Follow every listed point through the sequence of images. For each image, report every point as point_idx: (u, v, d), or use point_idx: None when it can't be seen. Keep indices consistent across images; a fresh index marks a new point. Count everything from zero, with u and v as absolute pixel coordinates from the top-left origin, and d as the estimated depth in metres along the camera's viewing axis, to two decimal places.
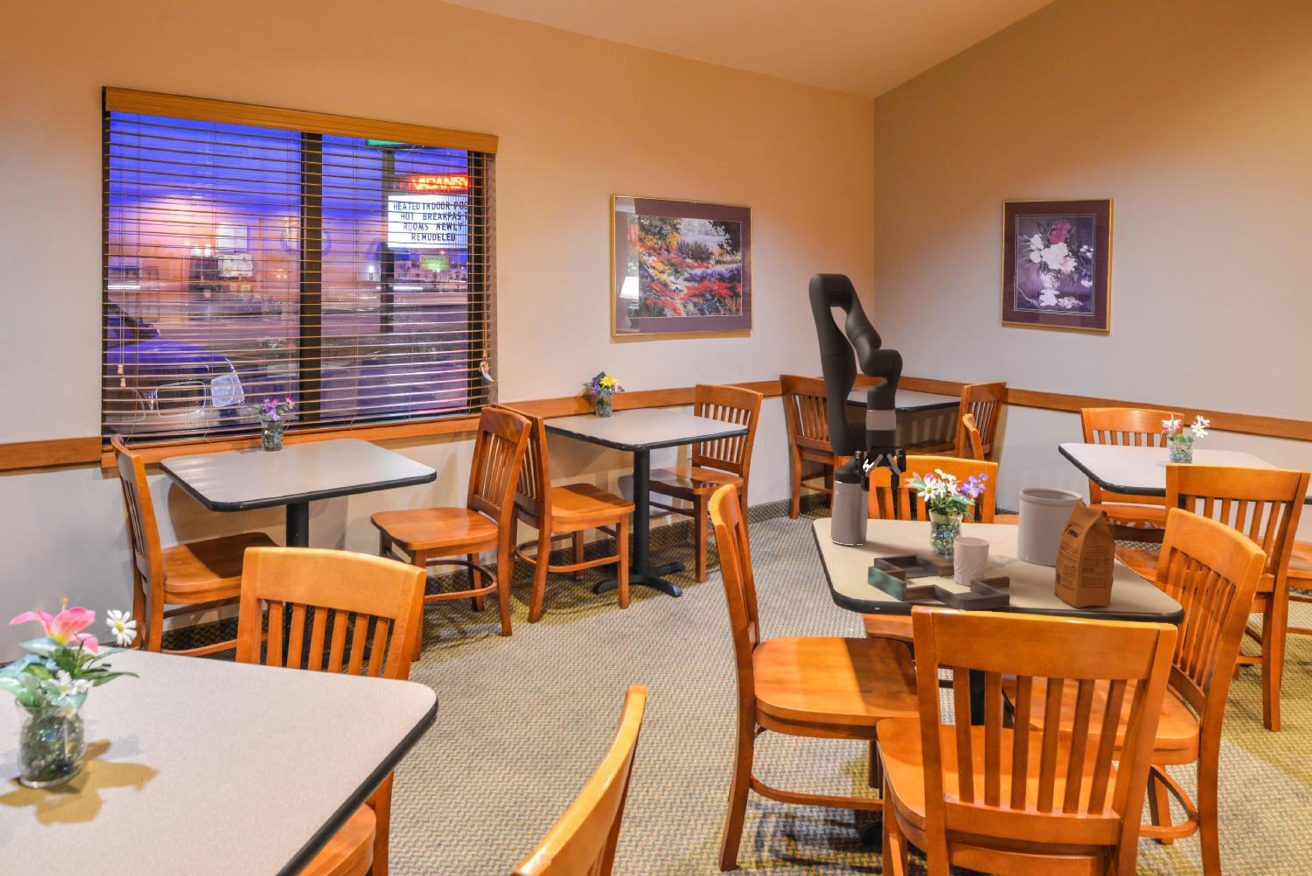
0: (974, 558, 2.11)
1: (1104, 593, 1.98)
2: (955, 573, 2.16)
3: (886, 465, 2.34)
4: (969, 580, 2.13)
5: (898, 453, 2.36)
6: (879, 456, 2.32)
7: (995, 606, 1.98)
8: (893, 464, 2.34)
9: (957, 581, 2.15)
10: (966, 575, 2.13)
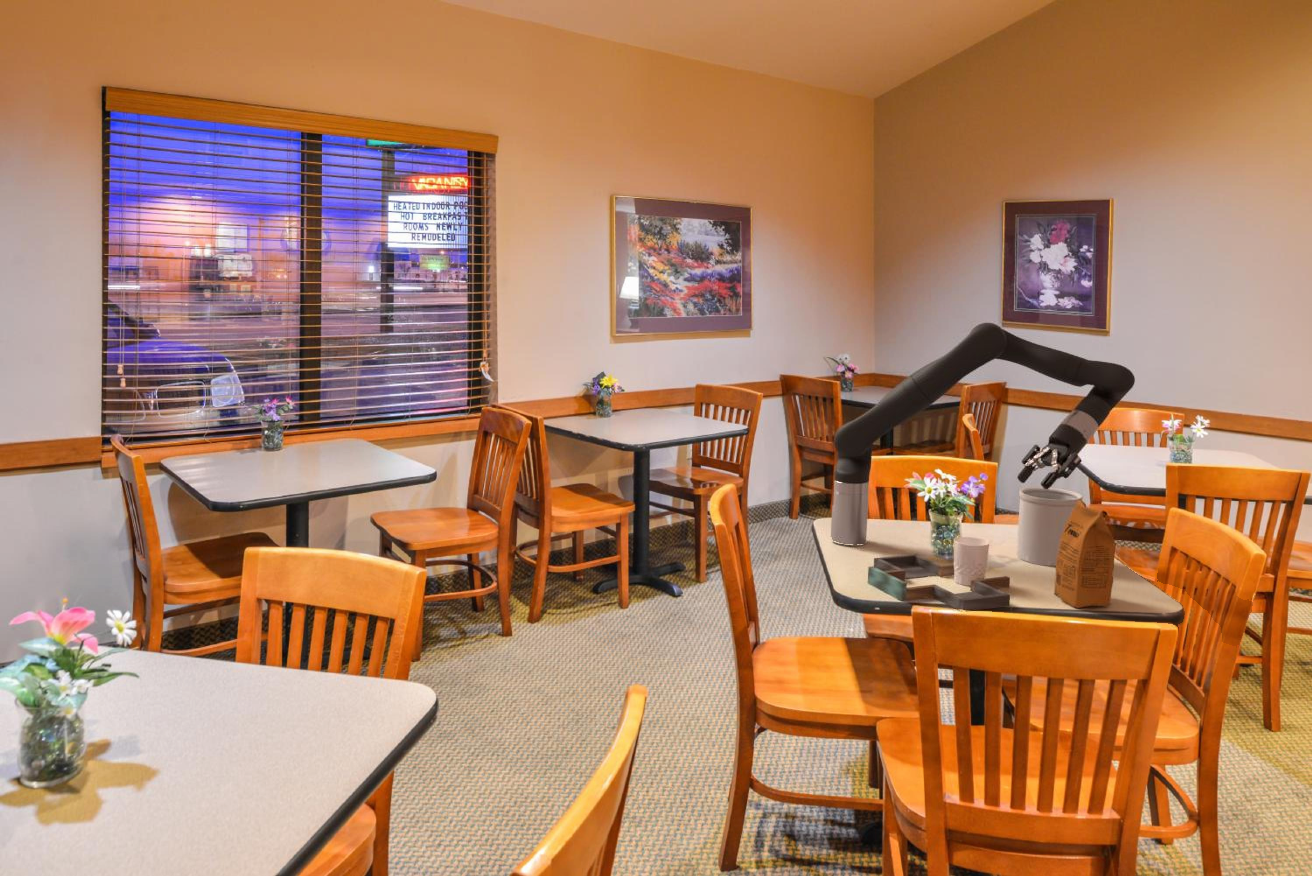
0: (974, 558, 2.11)
1: (1104, 593, 1.98)
2: (955, 573, 2.16)
3: None
4: (969, 580, 2.13)
5: None
6: None
7: (995, 606, 1.98)
8: None
9: (957, 581, 2.15)
10: (966, 575, 2.13)
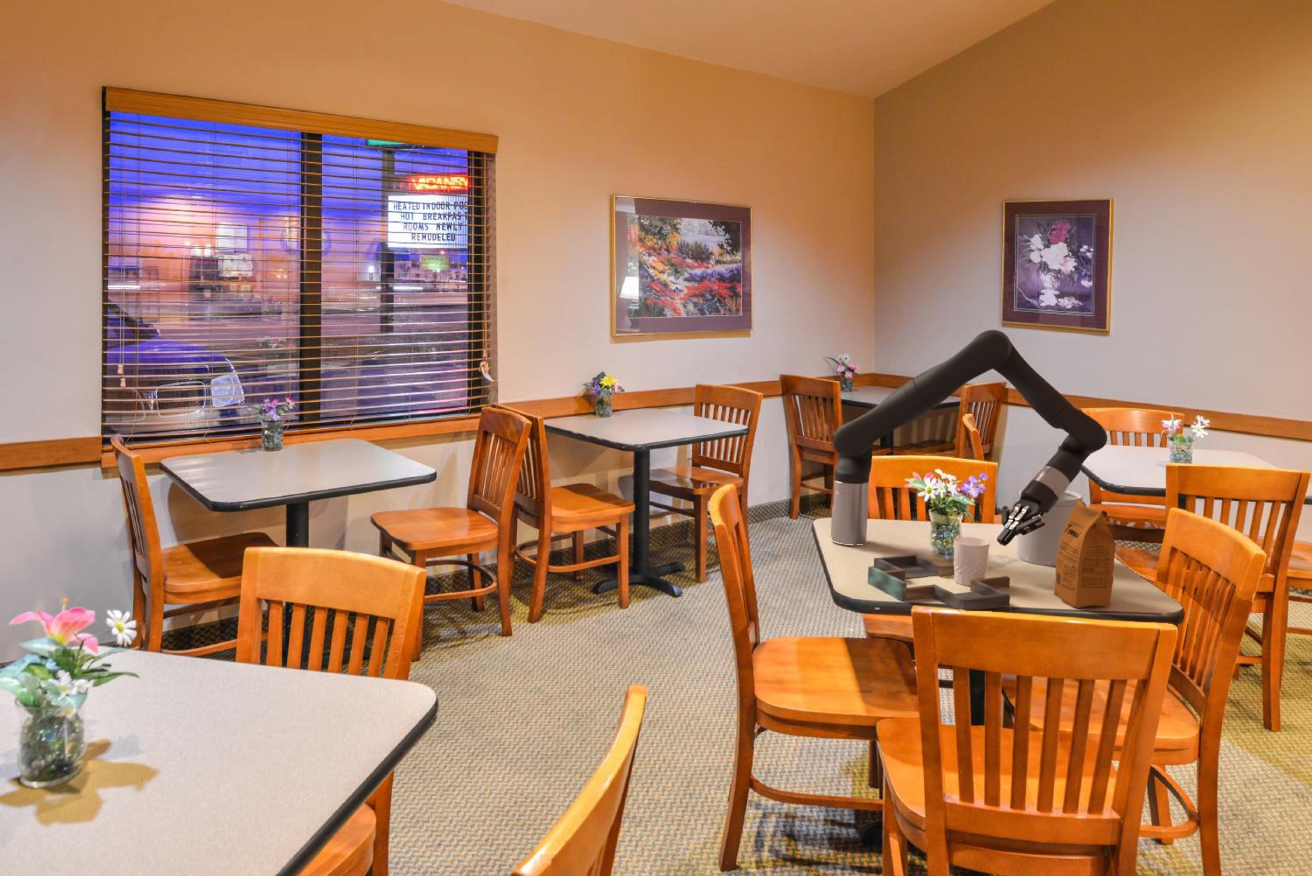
0: (974, 558, 2.11)
1: (1104, 593, 1.98)
2: (955, 573, 2.16)
3: None
4: (969, 580, 2.13)
5: None
6: None
7: (995, 606, 1.98)
8: None
9: (957, 581, 2.15)
10: (966, 575, 2.13)
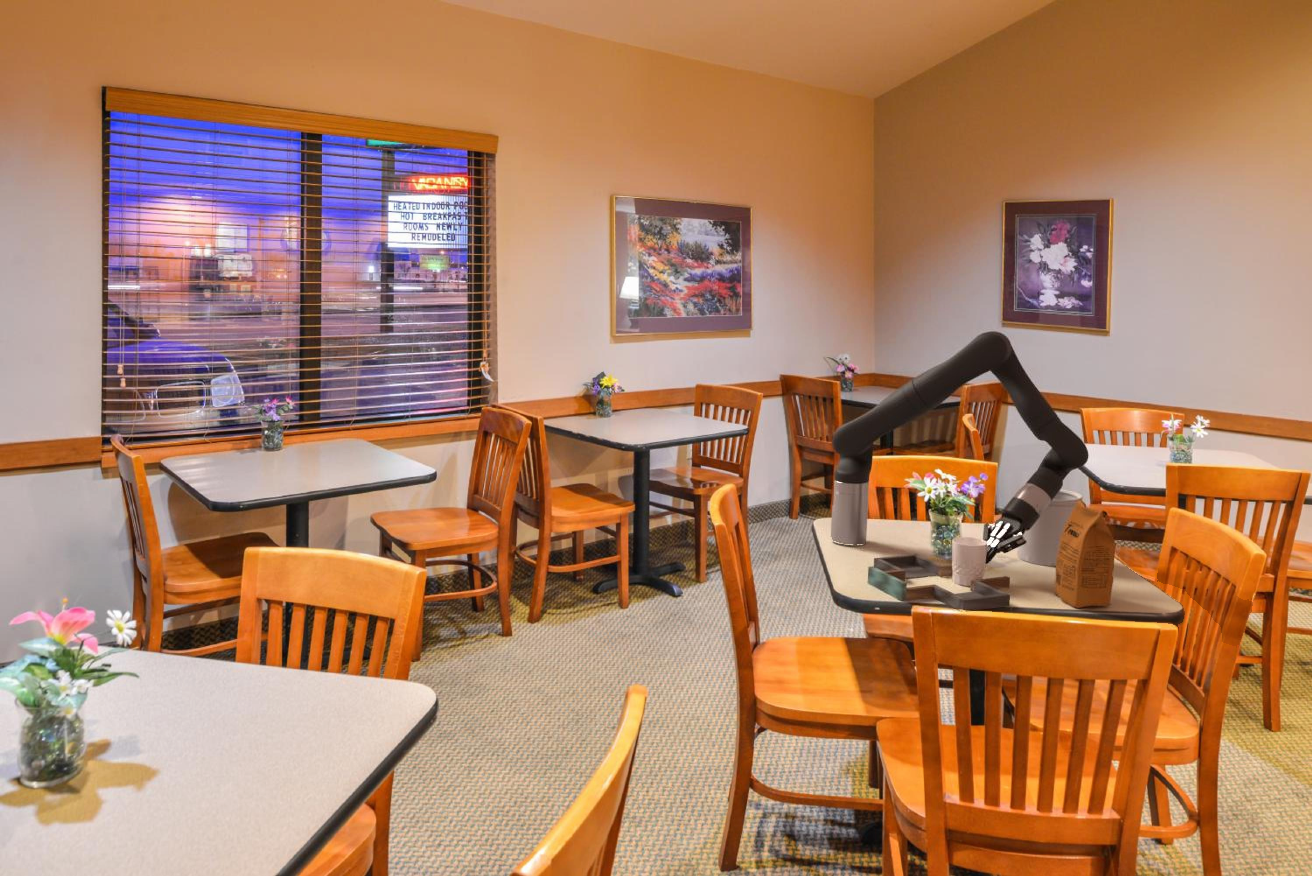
0: (972, 558, 2.11)
1: (1104, 593, 1.98)
2: (953, 573, 2.15)
3: None
4: (967, 580, 2.13)
5: None
6: None
7: (995, 606, 1.98)
8: None
9: (955, 581, 2.15)
10: (964, 575, 2.13)
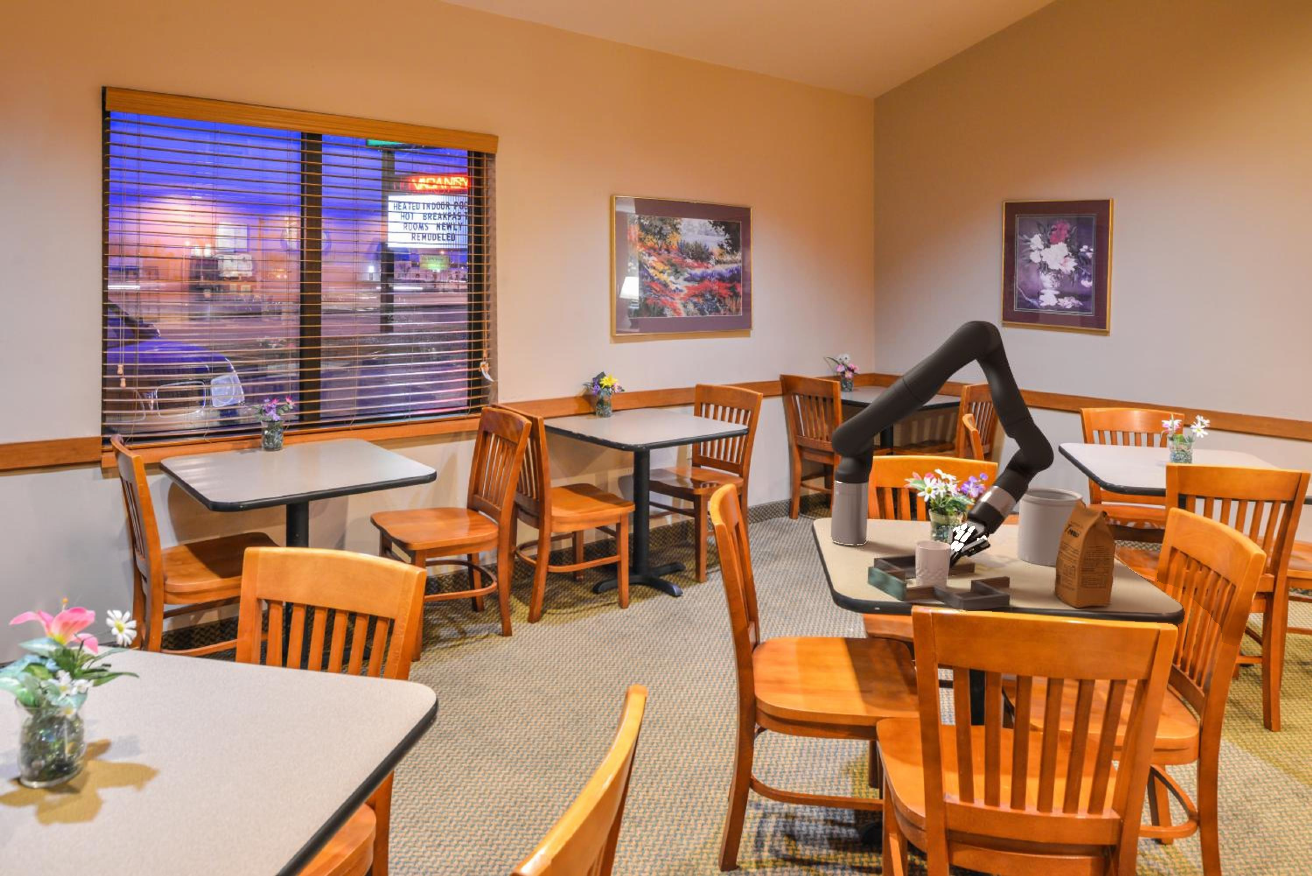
0: (934, 562, 2.07)
1: (1104, 593, 1.98)
2: (916, 577, 2.12)
3: None
4: None
5: None
6: None
7: (995, 606, 1.98)
8: None
9: (918, 585, 2.11)
10: (926, 579, 2.09)
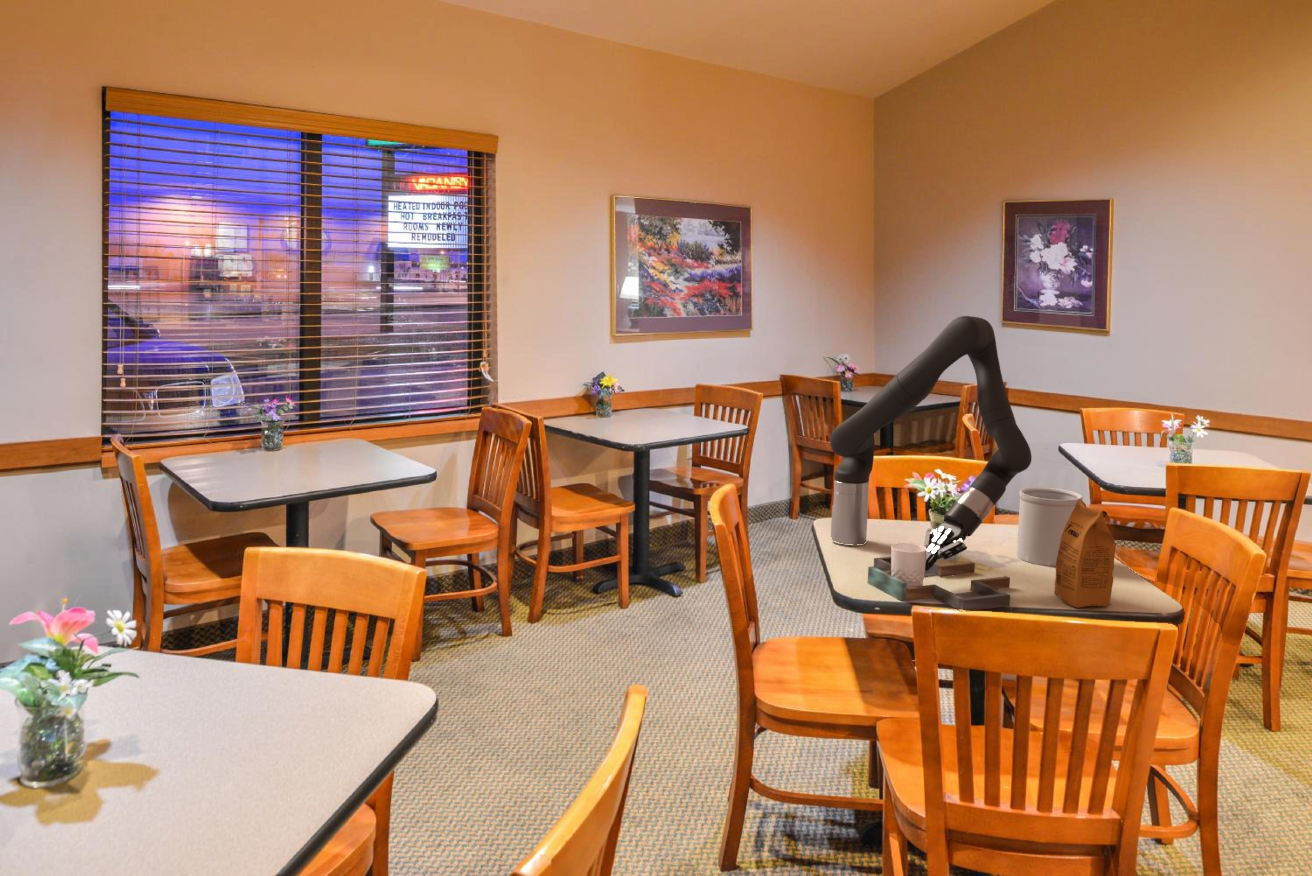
0: (909, 565, 2.05)
1: (1104, 593, 1.98)
2: None
3: None
4: None
5: None
6: None
7: (995, 606, 1.98)
8: None
9: None
10: None
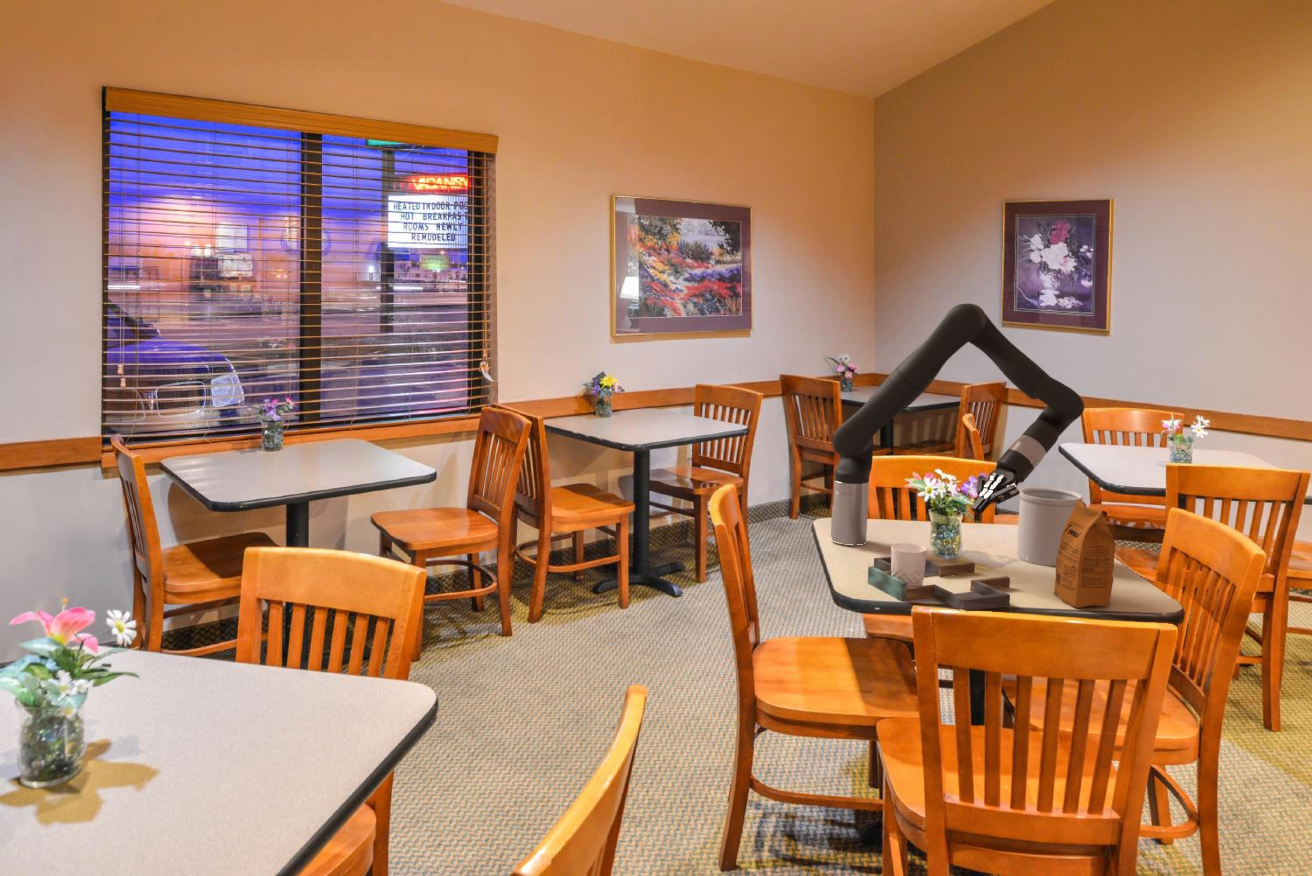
0: (909, 565, 2.05)
1: (1104, 593, 1.98)
2: None
3: None
4: None
5: None
6: None
7: (995, 606, 1.98)
8: None
9: None
10: None
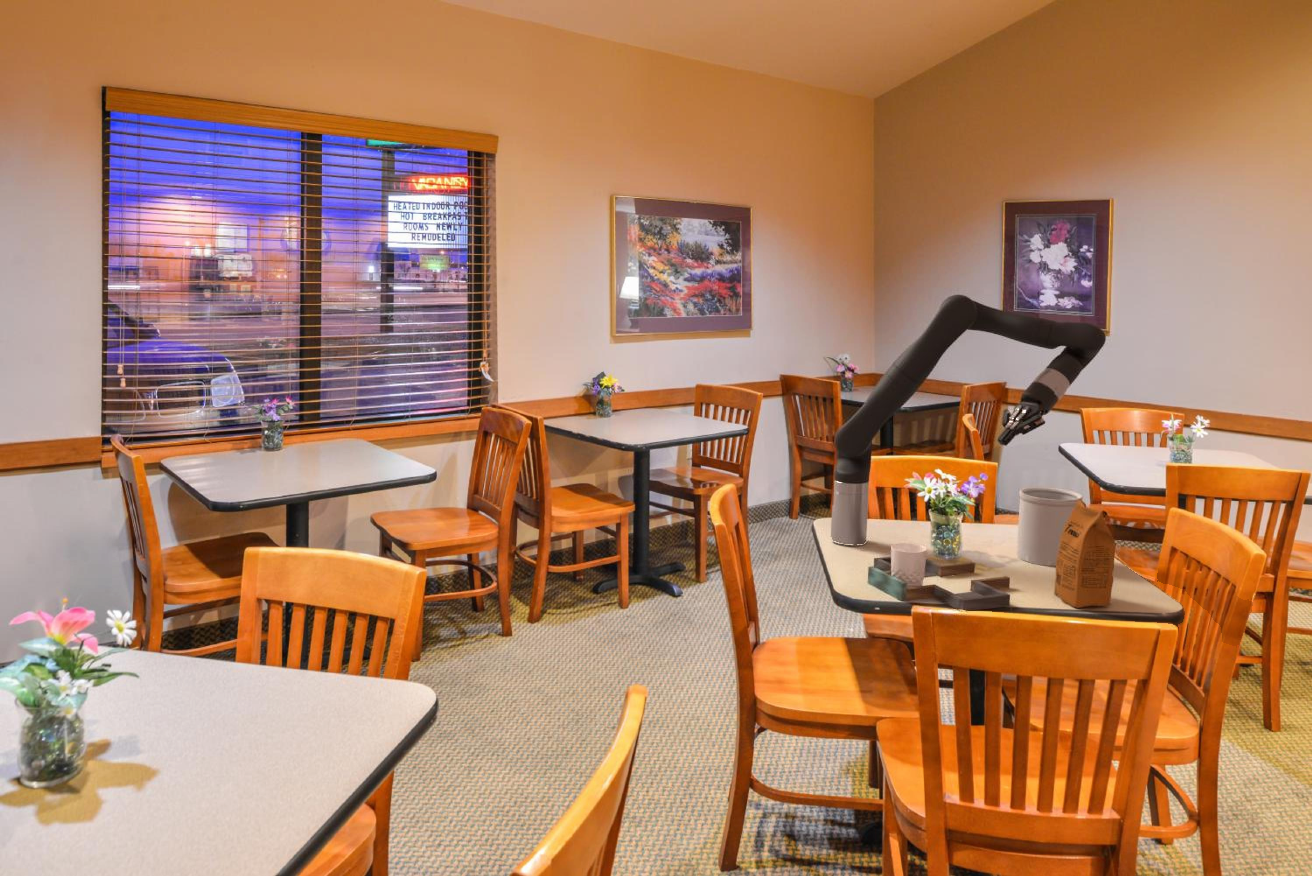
0: (909, 565, 2.05)
1: (1104, 593, 1.98)
2: None
3: None
4: None
5: None
6: None
7: (995, 606, 1.98)
8: None
9: None
10: None
